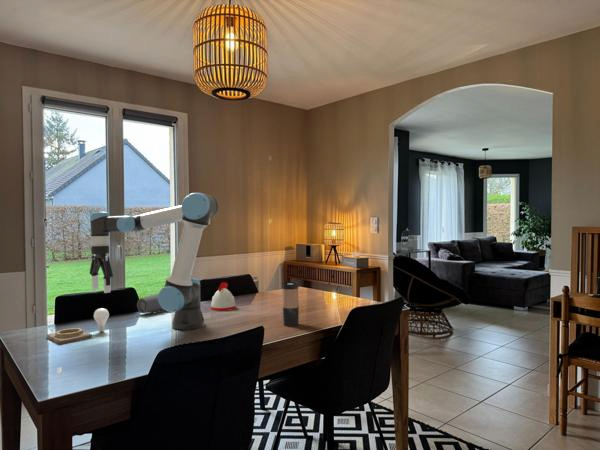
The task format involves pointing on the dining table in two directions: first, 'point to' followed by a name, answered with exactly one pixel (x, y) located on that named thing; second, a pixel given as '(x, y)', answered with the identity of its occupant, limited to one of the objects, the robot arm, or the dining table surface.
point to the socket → (69, 335)
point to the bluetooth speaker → (149, 304)
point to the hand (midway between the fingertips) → (101, 291)
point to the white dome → (223, 299)
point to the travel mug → (290, 304)
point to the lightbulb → (101, 318)
